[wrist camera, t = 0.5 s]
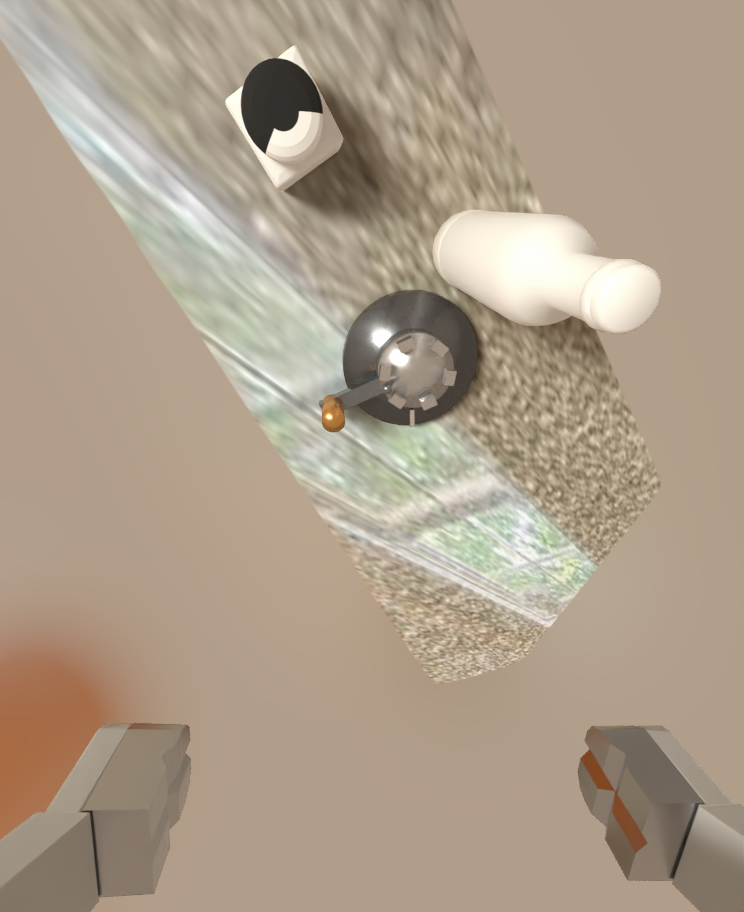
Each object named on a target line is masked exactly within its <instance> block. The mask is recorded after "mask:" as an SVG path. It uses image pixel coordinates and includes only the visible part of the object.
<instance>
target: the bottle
mask: <svg viewBox="0 0 744 912" xmlns="http://www.w3.org/2000/svg"><path fill="white" fill-rule="evenodd" d="M432 252H433V263H434V265H435V267H436V269H437V272H438V274H439V275H440V276H441V277H442V278H443V279H444V280H445V281H446V282H448V283H449V284H450V285H451V286H453V287H456V288H458V289H460V290H461V291H463V292H464V293H466V294H468V295H469V296H471V297H473V298H474V299H476V300H478V301H479V302H481V303H483V304H484V305H486V306H487V307H489V308H491V309H492V310H494V311H496V312H497V313H499V314H501V315H502V316H504V317H506V318H507V319H509V320H510V321H513V322H516V323H518V324H521V325H523V326H543V325H550V324H554V323H557V322H560V321H562V320H565V319H567V318H569V317H571V316H574V317H576V318H578V319H580V320H583V321H585V322H586V323H587V325H588V326H589V327H591V328H594V329H596V330H599V331H601V332H610V333H613V334H625V333H628V332H630V331H632V330H635V329H637V328H638V327H639V326H641V325H642V324H644V323H645V322H646V321H647V320H648V319H649V317H650V316H651V315H652V314H653V313H654V311H655V309H656V307H657V305H658V303H659V301H660V296H661V291H662V286H661V280H660V277H659V275H658V274H657V273H656V271H655V270H654V269H652V268H650V267H648V266H646V265H643V264H642V263H640V262H637V261H635V260H633V259H617V260H615V259H610V258H605V257H600V254H599V250H598V246H597V244H596V243H595V241H594V240H593V239H592V237H591V236H590V235H589V233H588V232H587V231H586V230H585V228H584V227H583V226H582V225H581V224H580V223H579V222H577V221H575V220H573V219H571V218H569V217H567V216H564V215H550V214H533V213H513V212H493V211H486V210H466V211H462V212H459V213H457V214H455V215H452V216H451V217H450V218H449V219H448V220H447V221H446V222H444V223H443V224H442V226H441V227H440V229H439V231H438V233H437V234H436V236H435V240H434V245H433V249H432Z"/></svg>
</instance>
